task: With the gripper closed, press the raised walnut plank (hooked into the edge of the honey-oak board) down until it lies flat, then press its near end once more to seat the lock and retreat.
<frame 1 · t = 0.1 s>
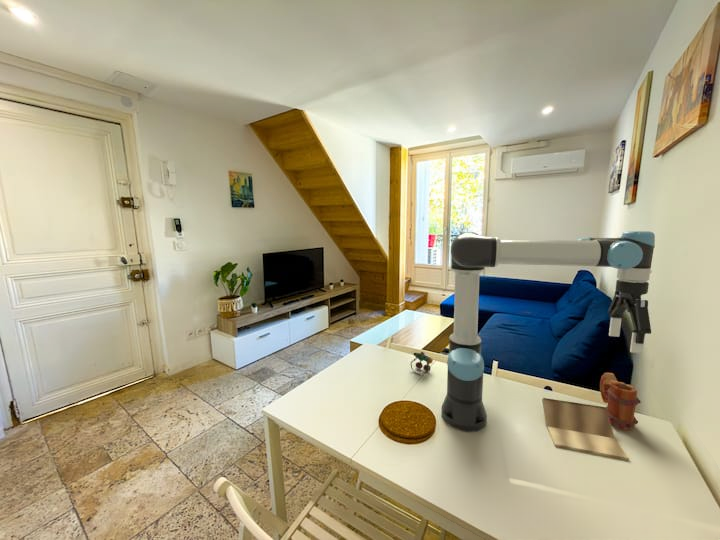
hand: (624, 343, 95), 28 cm above the table, fingers open, 13 cm apart
laid board: (584, 445, 89), on the table
plank: (576, 417, 96), point 4 cm above the table, hinge at 40.0°
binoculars: (422, 370, 136), on the table
mug: (613, 420, 100), on the table
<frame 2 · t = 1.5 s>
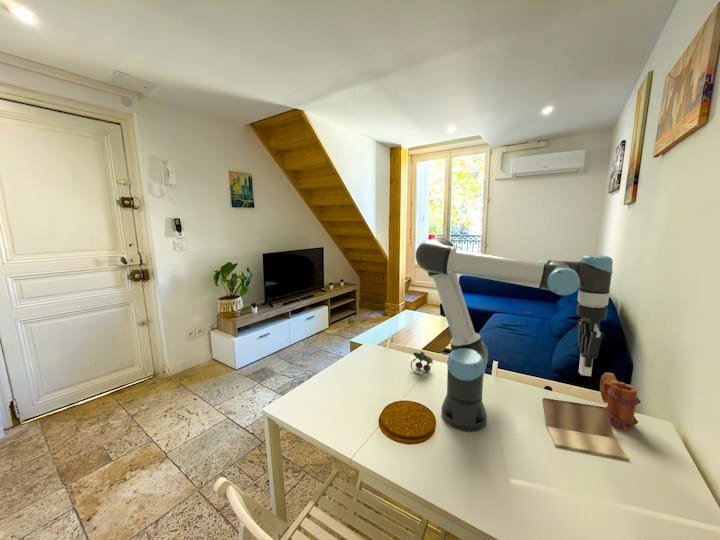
hand: (584, 373, 95), 18 cm above the table, fingers closed
nothing on the table moved.
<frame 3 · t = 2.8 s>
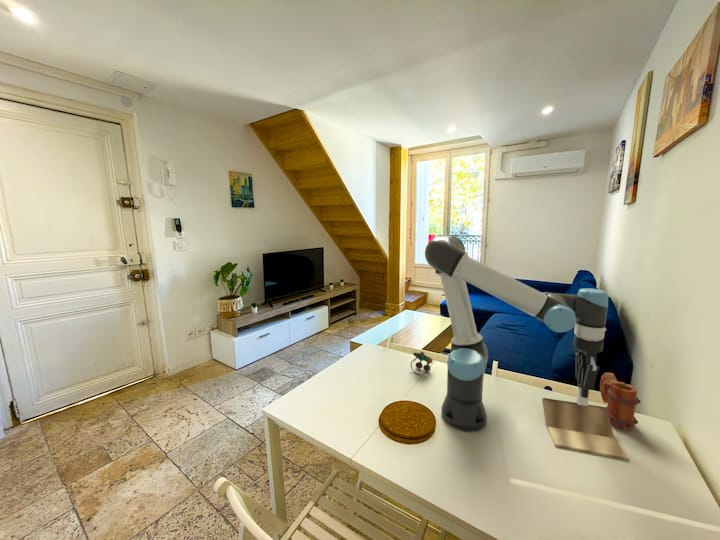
hand: (581, 404, 97), 8 cm above the table, fingers closed
plank: (576, 417, 96), point 4 cm above the table, hinge at 40.0°, touching gripper
everything else where it was.
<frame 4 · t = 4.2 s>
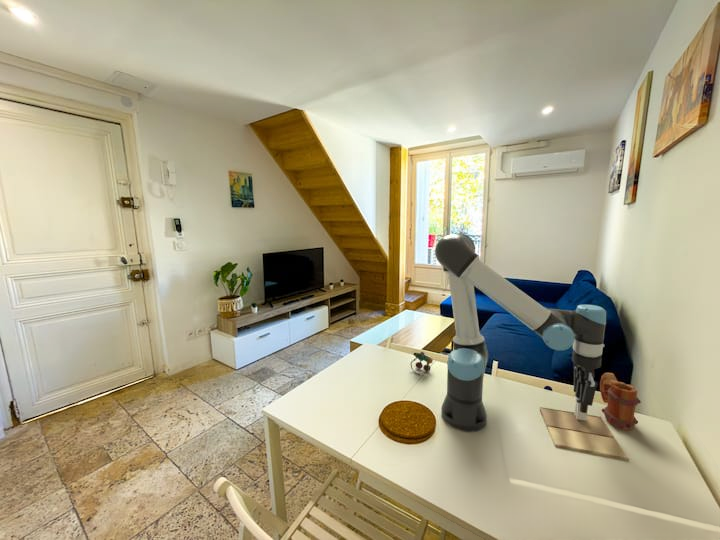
hand: (580, 417, 98), 2 cm above the table, fingers closed, pressing on plank
plank: (574, 422, 97), point 1 cm above the table, hinge at 3.5°, touching gripper
everything else where it was.
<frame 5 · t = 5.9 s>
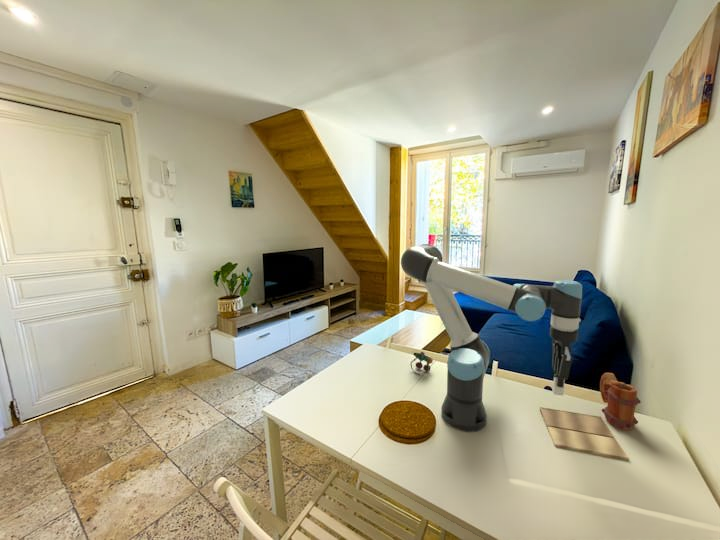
hand: (557, 393, 99), 10 cm above the table, fingers closed
plank: (574, 422, 97), point 1 cm above the table, hinge at 3.4°
everything else where it was.
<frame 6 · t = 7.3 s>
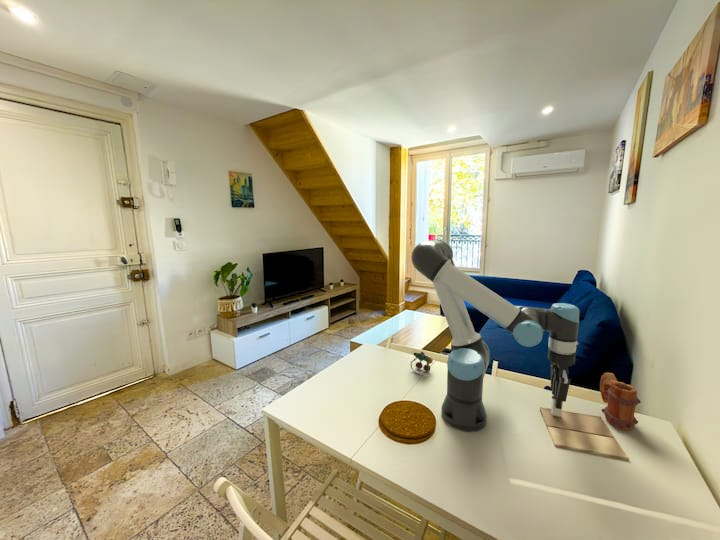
hand: (556, 414, 100), 2 cm above the table, fingers closed
plank: (574, 422, 97), point 1 cm above the table, hinge at 3.4°, touching gripper
everything else where it was.
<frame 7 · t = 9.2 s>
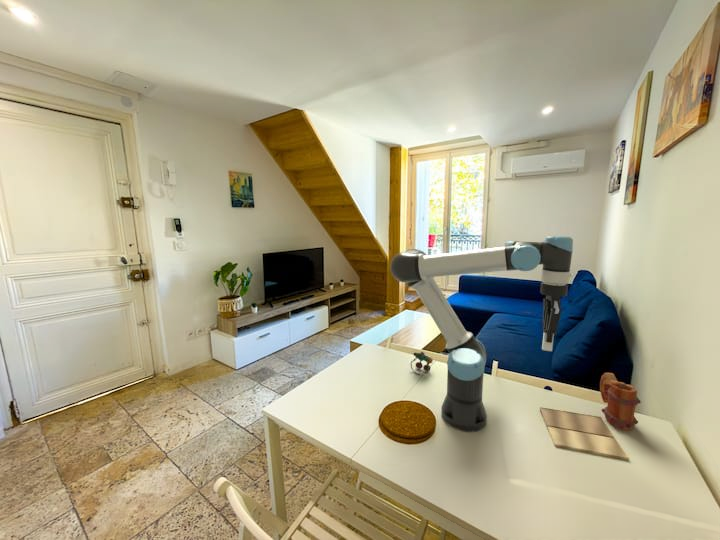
hand: (546, 349, 100), 24 cm above the table, fingers closed
plank: (574, 422, 97), point 1 cm above the table, hinge at 3.1°
everything else where it was.
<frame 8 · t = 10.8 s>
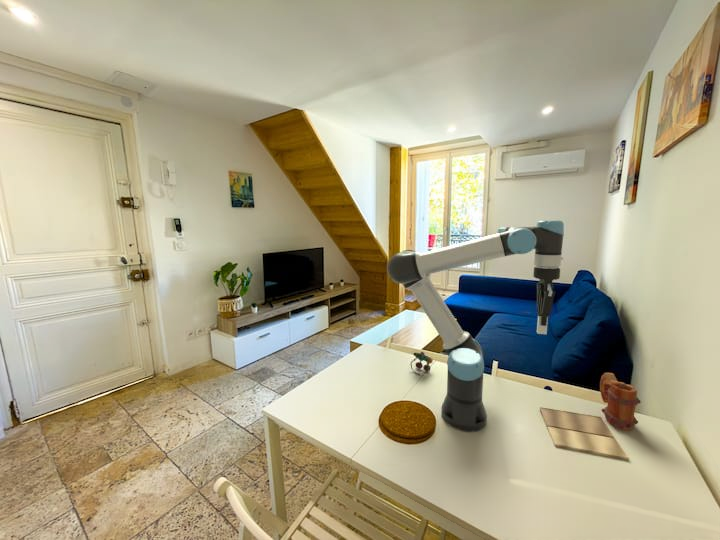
hand: (541, 333, 101), 29 cm above the table, fingers closed
nothing on the table moved.
at the end: plank at +3° (first picture: +40°) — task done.
